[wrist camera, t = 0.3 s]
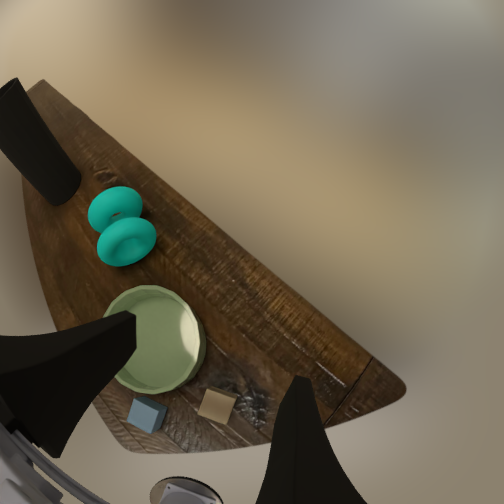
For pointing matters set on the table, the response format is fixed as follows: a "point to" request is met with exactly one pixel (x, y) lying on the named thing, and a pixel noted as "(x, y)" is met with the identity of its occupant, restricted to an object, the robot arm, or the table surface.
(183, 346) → the green shallow bowl
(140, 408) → the blue block
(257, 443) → the table surface
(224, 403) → the brown block
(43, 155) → the vase
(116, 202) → the donuts
